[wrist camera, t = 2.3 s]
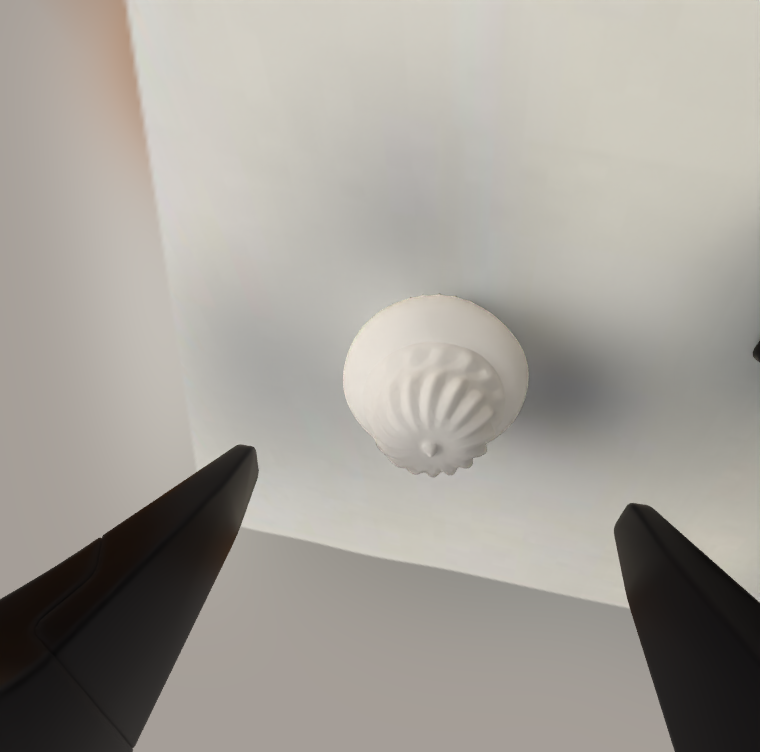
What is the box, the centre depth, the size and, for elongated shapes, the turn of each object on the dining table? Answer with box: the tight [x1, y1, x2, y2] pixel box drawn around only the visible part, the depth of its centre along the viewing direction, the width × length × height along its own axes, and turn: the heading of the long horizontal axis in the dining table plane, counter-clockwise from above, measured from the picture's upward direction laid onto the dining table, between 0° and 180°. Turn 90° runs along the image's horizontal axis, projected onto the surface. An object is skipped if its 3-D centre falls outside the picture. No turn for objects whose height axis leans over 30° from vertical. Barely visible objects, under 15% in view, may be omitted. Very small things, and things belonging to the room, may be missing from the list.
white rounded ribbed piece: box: [343, 293, 529, 477], centre depth 13 cm, size 6×6×7 cm
